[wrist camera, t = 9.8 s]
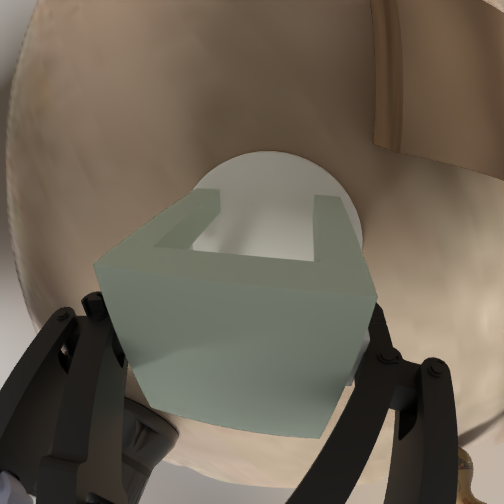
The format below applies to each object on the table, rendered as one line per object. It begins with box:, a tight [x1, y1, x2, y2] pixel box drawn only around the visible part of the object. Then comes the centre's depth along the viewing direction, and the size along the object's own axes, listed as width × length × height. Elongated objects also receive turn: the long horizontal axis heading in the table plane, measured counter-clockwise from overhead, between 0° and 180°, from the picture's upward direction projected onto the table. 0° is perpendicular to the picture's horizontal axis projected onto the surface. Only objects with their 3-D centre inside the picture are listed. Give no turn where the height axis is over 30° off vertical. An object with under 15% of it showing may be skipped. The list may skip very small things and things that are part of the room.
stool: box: [93, 188, 378, 439], centre depth 12 cm, size 8×8×9 cm
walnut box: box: [370, 0, 504, 180], centre depth 9 cm, size 10×10×5 cm
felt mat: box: [192, 151, 363, 261], centre depth 18 cm, size 12×12×1 cm
